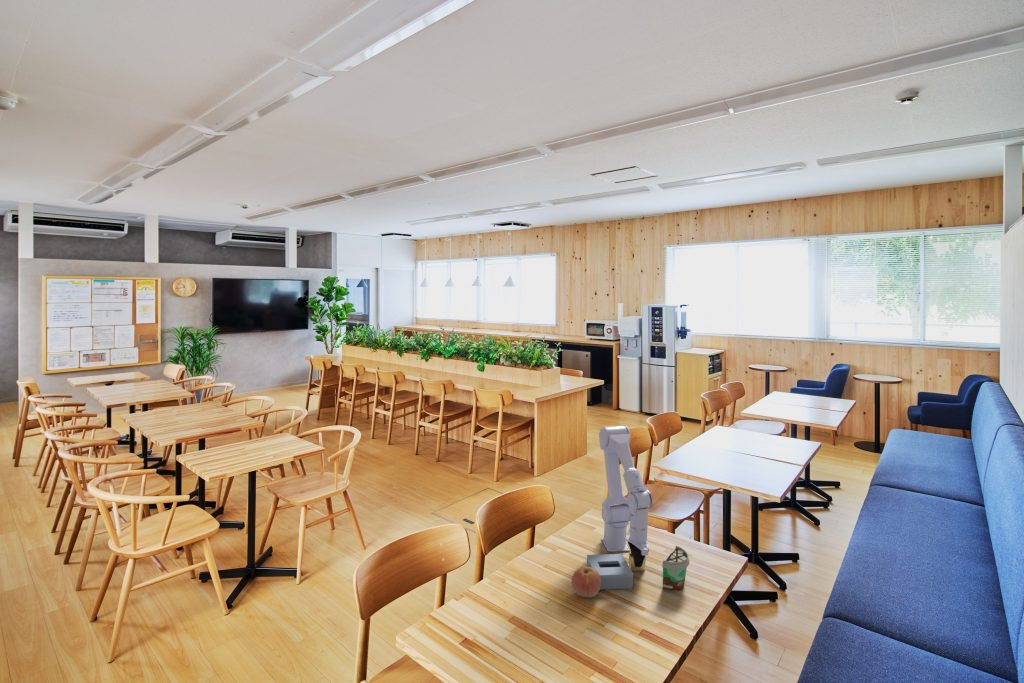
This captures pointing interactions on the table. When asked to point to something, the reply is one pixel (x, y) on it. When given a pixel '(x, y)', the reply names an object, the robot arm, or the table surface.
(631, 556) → the block
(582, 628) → the table surface
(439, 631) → the table surface
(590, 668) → the table surface
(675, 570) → the food container
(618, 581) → the coin box
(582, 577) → the apple
